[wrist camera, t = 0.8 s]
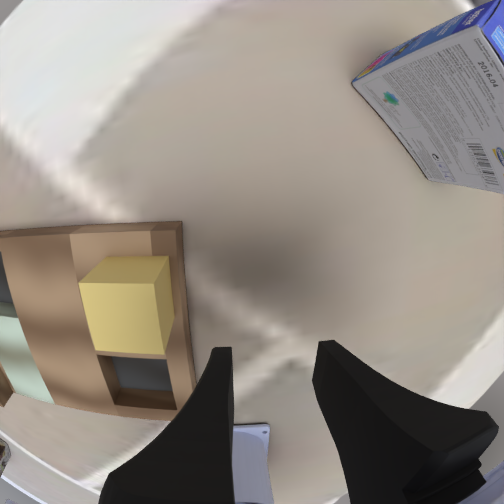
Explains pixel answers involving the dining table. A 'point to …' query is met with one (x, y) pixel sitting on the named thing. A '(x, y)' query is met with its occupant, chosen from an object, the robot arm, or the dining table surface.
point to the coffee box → (3, 455)
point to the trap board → (76, 326)
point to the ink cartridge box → (447, 97)
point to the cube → (129, 304)
